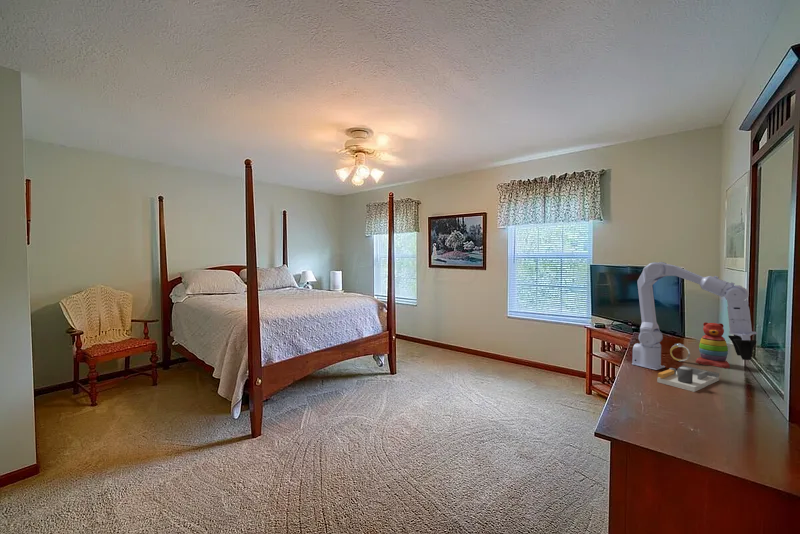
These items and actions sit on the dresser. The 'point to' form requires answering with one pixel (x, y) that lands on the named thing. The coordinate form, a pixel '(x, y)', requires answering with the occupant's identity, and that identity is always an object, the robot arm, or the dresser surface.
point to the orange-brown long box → (667, 373)
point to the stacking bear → (713, 346)
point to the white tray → (698, 381)
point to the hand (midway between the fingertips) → (743, 357)
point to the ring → (677, 347)
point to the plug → (685, 375)
